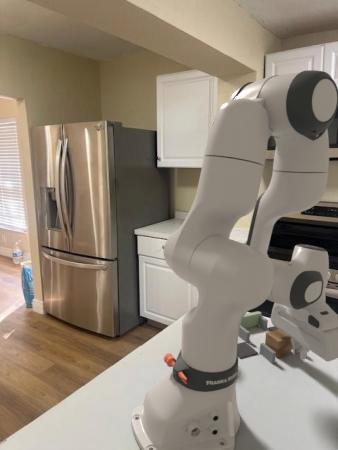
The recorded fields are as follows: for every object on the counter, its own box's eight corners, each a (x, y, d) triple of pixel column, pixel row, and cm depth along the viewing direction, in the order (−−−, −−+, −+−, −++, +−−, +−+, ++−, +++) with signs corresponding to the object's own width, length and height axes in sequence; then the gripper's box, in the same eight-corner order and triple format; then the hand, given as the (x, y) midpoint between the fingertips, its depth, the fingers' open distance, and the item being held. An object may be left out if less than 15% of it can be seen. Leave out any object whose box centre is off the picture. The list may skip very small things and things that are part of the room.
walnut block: (276, 358, 91) (278, 341, 90) (264, 348, 96) (266, 332, 95) (290, 354, 93) (292, 337, 92) (278, 344, 98) (279, 329, 97)
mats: (240, 358, 91) (240, 357, 91) (220, 340, 100) (220, 339, 100) (301, 341, 100) (301, 340, 100) (278, 326, 108) (278, 325, 108)
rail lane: (271, 363, 89) (273, 349, 88) (229, 328, 106) (230, 317, 105) (303, 354, 93) (304, 341, 92) (257, 322, 111) (258, 311, 110)
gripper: (267, 293, 92) (263, 338, 95) (329, 328, 74) (322, 383, 77) (285, 289, 95) (281, 334, 98) (349, 323, 77) (341, 376, 80)
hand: (299, 356), depth 87 cm, fingers closed
